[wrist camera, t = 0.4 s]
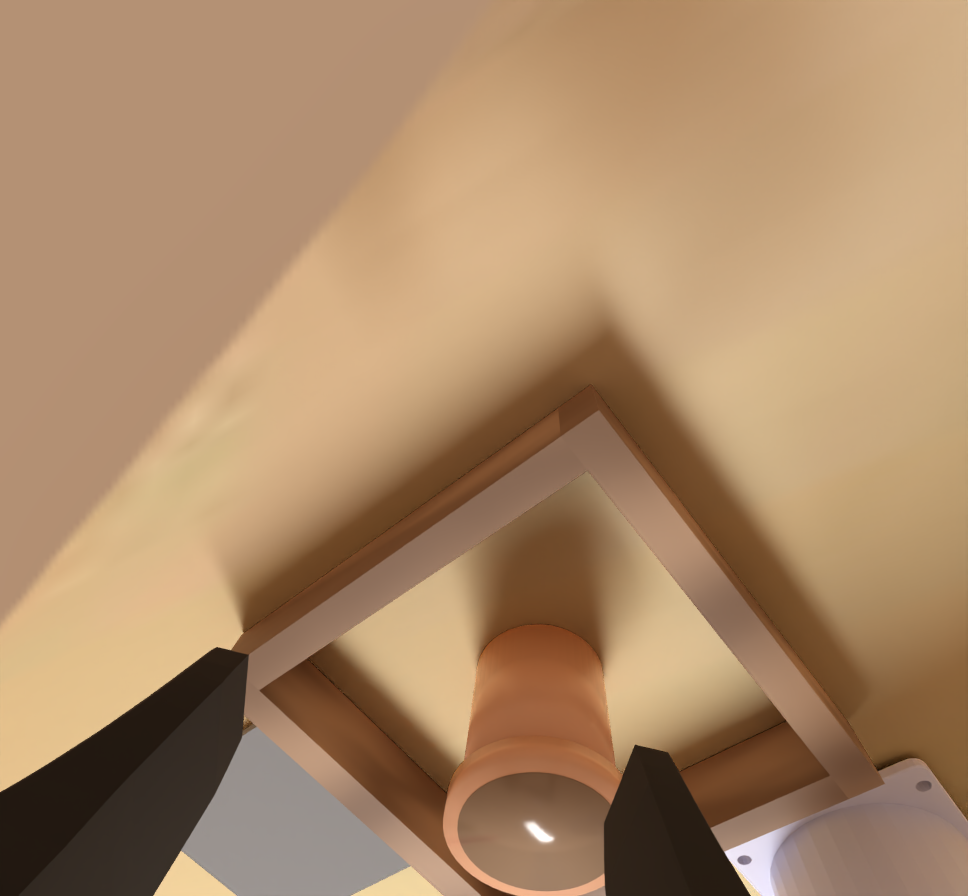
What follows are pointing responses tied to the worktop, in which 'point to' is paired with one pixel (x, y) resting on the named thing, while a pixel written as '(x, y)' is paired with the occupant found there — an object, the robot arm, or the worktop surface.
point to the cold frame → (459, 527)
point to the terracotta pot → (535, 767)
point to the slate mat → (284, 831)
